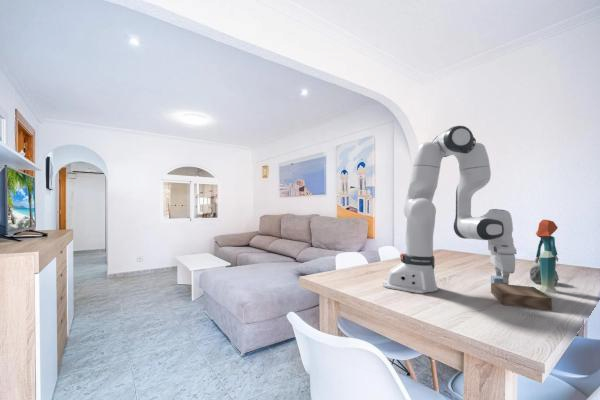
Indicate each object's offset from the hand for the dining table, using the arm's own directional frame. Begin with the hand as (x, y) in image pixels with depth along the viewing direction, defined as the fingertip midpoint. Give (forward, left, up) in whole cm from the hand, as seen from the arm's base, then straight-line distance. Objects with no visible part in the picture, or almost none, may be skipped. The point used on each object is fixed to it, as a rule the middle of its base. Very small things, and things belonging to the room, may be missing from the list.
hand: (502, 279), depth 114 cm
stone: (+21, +19, -5) cm, 29 cm away
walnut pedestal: (+1, -15, -4) cm, 15 cm away
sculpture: (+17, +5, -5) cm, 18 cm away
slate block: (-1, 0, -4) cm, 5 cm away
